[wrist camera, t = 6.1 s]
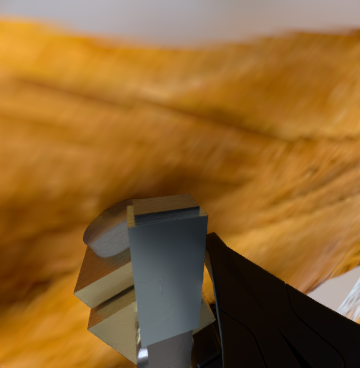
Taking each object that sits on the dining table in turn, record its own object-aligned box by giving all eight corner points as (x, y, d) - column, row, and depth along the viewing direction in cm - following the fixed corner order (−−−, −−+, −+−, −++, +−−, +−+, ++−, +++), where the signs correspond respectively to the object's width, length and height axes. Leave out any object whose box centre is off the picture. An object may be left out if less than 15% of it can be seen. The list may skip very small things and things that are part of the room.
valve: (196, 272, 19) (226, 337, 14) (148, 300, 19) (159, 381, 13) (148, 187, 14) (163, 234, 8) (80, 222, 13) (46, 300, 8)
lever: (192, 181, 7) (220, 206, 5) (186, 336, 11) (200, 387, 9) (115, 188, 7) (110, 222, 4) (137, 354, 10) (140, 414, 8)
